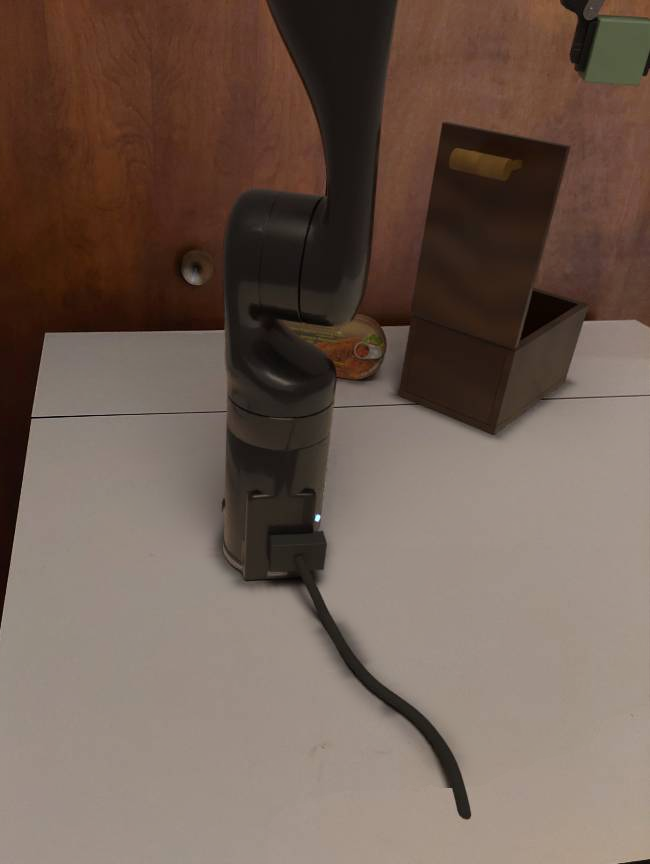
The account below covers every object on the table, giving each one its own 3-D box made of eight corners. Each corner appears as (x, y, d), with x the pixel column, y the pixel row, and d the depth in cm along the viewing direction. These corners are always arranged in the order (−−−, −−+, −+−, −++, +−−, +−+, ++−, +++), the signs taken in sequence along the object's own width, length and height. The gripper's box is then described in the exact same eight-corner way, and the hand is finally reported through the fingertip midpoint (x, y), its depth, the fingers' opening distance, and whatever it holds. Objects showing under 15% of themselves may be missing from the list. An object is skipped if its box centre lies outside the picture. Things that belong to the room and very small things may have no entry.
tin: (271, 367, 110) (275, 308, 105) (277, 357, 113) (281, 299, 107) (380, 385, 107) (389, 325, 102) (383, 374, 109) (392, 316, 104)
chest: (474, 349, 117) (491, 274, 110) (565, 381, 110) (589, 304, 103) (397, 395, 105) (411, 315, 98) (493, 435, 98) (515, 351, 91)
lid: (446, 121, 85) (419, 128, 82) (570, 145, 78) (546, 154, 75) (413, 310, 98) (389, 322, 95) (518, 346, 91) (495, 360, 88)
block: (630, 77, 71) (647, 17, 68) (639, 86, 68) (658, 23, 65) (577, 73, 72) (592, 14, 69) (584, 82, 68) (600, 19, 65)
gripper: (588, -202, 57) (528, 74, 67) (805, -198, 55) (707, 86, 65) (576, -192, 62) (522, 61, 73) (771, -188, 60) (687, 71, 71)
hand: (610, 71), depth 69 cm, fingers closed on block, 4 cm apart
